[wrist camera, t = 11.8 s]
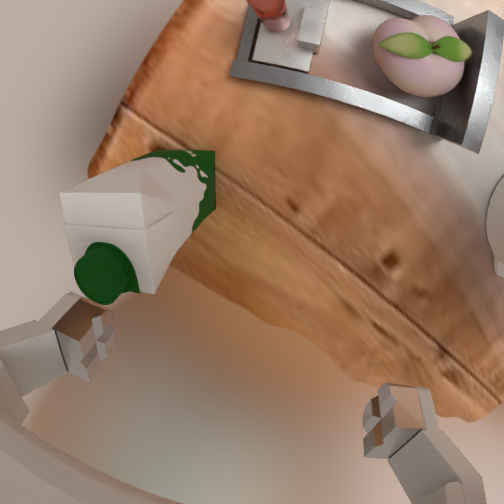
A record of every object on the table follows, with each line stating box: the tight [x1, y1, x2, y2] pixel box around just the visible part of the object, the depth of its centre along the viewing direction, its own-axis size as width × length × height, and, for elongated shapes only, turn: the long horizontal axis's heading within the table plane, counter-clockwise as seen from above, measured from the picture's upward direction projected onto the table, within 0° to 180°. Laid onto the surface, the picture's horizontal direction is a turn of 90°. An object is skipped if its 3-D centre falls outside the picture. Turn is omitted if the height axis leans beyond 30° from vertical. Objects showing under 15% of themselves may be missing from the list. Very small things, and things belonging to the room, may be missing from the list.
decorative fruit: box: [372, 15, 472, 97], centre depth 22 cm, size 9×8×10 cm
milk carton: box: [60, 150, 216, 305], centre depth 28 cm, size 9×9×20 cm
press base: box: [230, 0, 504, 154], centre depth 23 cm, size 24×14×9 cm, turn 78°
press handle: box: [247, 0, 330, 73], centre depth 22 cm, size 6×10×12 cm, turn 168°
